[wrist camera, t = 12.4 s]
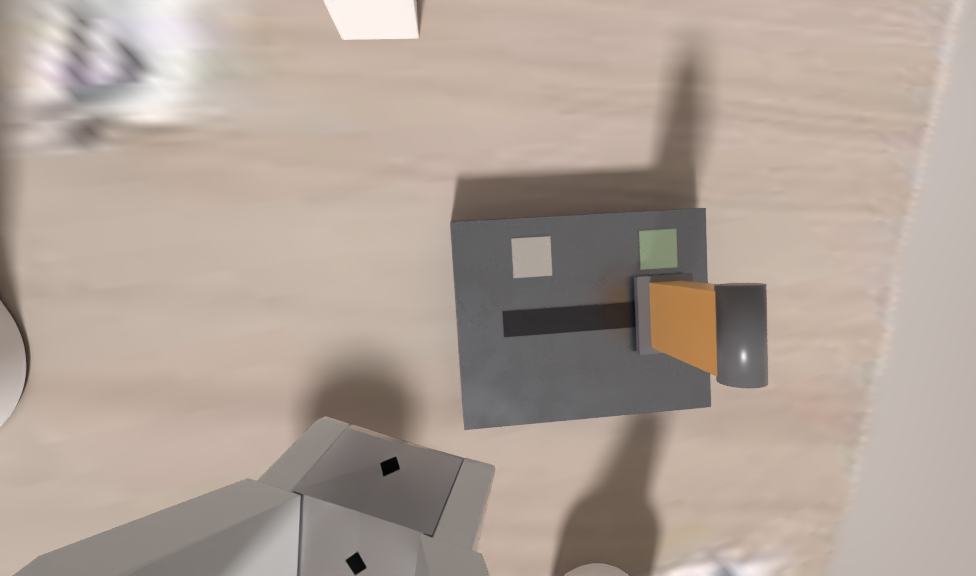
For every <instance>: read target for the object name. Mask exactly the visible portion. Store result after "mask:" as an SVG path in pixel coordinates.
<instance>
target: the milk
mask: <svg viewBox="0 0 976 576" xmlns="http://www.w3.org/2000/svg"><path fill="white" fill-rule="evenodd" d="M323 1H324V3H325V5H326V7H327V9H328V11H329V13H330V15H331V17H332V19H333V21H334V23H335V25H336V28H337V30H338V32H339V34H340V36H341V38H342V39H343V40H358V39H412V38H419V30H418V15H417V0H323Z"/></svg>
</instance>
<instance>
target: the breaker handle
mask: <svg viewBox="0 0 976 576" xmlns="http://www.w3.org/2000/svg"><path fill="white" fill-rule="evenodd" d="M634 293H635V319H636V345H637V354H639V355H645V354H657V353H665V354H667V355H670V356H672V357H674V358H676V359H679V360H681V361H683V362H685V363H688V364H690V365H692V366H694V367H697V368H699V369H701V370H703V371H706V372H708V373H710V374H712V375H715V376H716V379H717V382H719V383H720V384H723V385H726V386H731V387H737V388H760V387H764V386H767V385H768V354H767V297H766V284H761V283H729V284H709V283H699V282H693V274H692V273H682V274H668V275H653V276H638V277H634Z"/></svg>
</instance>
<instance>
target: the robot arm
mask: <svg viewBox="0 0 976 576" xmlns="http://www.w3.org/2000/svg"><path fill="white" fill-rule="evenodd" d="M25 377H26V355H25V348H24V344H23V340H22V337H21V334H20V332H19V330H18V327H17V325H16V323H15V321H14V320H13V318H12V316H11V315H10V313H9V312H8V310H7V309H6V307H5V306H4V305H3V303H2V302H1V300H0V427H1V426H2V425H3V423H4V422H5V421H6V420H7V419H8V418H9V416H10V415H11V413H12V412H13V410H14V409H15V407H16V405H17V403H18V401H19V399H20V396H21V393H22V390H23V387H24V383H25ZM494 474H495V466H494V465H490V464H487V463H483V462H479V461H476V460H472V459H468V458H462V457H459V456H455V455H452V454H448V453H445V452H441V451H438V450H434V449H431V448H427V447H424V446H420V445H417V444H413V443H410V442H407V441H403V440H400V439H397V438H394V437H391V436H388V435H385V434H382V433H379V432H375V431H372V430H369V429H366V428H363V427H360V426H357V425H354V424H353V425H351V424H349V423H346V422H342V421H339V420H336V419H333V418H330V417H327V416H325V417H322V418H320V419H318V420H316V421H315V422H314V423H313V424H312V425H311V426H310V427H309V428H308V429H307V430H306V432H305V433H304V434H303V435H302V436H301V437H300V438H299V439H298V440H297V441H296V442H295V443H294V444H293V445H292V446H291V447H290V448H289V449H288V450H287V451H286V452H285V453H284V454H283V455H282V456H281V457H280V458H279V459H278V460H277V461H276V462H275V463H274V464H273V465H272V466H271V467H270V468H269V469H268V470H267V471H266V472H265V473H264V474H263V475H262V476H261V477H260V478H259V479H258V480H257V481H255V480H252V479H249V478H247V479H245V480H242V481H239V482H236V483H234V484H231V485H228V486H226V487H223V488H220V489H218V490H215V491H212V492H210V493H207V494H204V495H202V496H199V497H196V498H194V499H191V500H188V501H186V502H183V503H180V504H178V505H175V506H172V507H169V508H167V509H164V510H161V511H159V512H156V513H153V514H151V515H148V516H145V517H143V518H140V519H137V520H135V521H132V522H129V523H127V524H124V525H121V526H119V527H116V528H113V529H110V530H108V531H105V532H102V533H100V534H97V535H94V536H92V537H89V538H86V539H84V540H81V541H78V542H76V543H73V544H70V545H68V546H65V547H62V548H60V549H57V550H54V551H51V552H49V553H46V554H43V555H41V556H38V557H37V558H36V559H34V560H33V561H32V562H30V563H29V564H28V565H26V566H25V567H24V568H22V569H21V570H20V571H18V572H17V573H16V574H14V575H13V576H490V575H489V572H488V570H487V567H486V564H485V561H484V558H483V556H482V554H481V553H478V552H477V549H478V544H479V540H480V536H481V532H482V527H483V523H484V519H485V514H486V510H487V505H488V501H489V496H490V492H491V488H492V483H493V479H494Z"/></svg>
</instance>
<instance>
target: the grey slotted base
mask: <svg viewBox="0 0 976 576" xmlns="http://www.w3.org/2000/svg"><path fill="white" fill-rule="evenodd" d="M450 228H451V243H452V258H453V273H454V288H455V302H456V317H457V332H458V347H459V362H460V376H461V391H462V406H463V420H464V430H469V429H480V428H491V427H502V426H512V425H523V424H534V423H544V422H555V421H566V420H576V419H587V418H598V417H608V416H619V415H630V414H641V413H651V412H662V411H673V410H683V409H694V408H705V407H711V391H710V373H708V372H706V371H703V370H701V369H699V368H697V367H694V366H692V365H690V364H688V363H685V362H683V361H681V360H679V359H676V358H674V357H672V356H670V355H667V354H665V353H657V354H645V355H639V354H637V345H636V319H635V293H634V277H638V276H653V275H668V274H682V273H692V274H693V282H699V283H708V280H707V243H706V208H694V209H676V210H658V211H641V212H623V213H605V214H587V215H569V216H551V217H533V218H516V219H498V220H480V221H462V222H450Z"/></svg>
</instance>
